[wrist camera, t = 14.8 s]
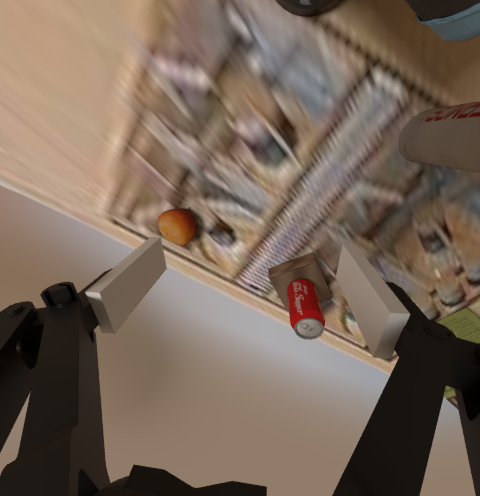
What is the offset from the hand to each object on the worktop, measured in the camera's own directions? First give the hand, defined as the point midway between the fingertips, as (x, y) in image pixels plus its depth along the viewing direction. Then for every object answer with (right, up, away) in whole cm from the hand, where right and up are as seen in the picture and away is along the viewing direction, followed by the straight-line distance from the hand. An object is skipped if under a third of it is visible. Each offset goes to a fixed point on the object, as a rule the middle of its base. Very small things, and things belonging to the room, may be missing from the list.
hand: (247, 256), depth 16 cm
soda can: (+13, -8, +34) cm, 38 cm away
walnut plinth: (+14, -7, +37) cm, 40 cm away
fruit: (-14, +7, +34) cm, 38 cm away
